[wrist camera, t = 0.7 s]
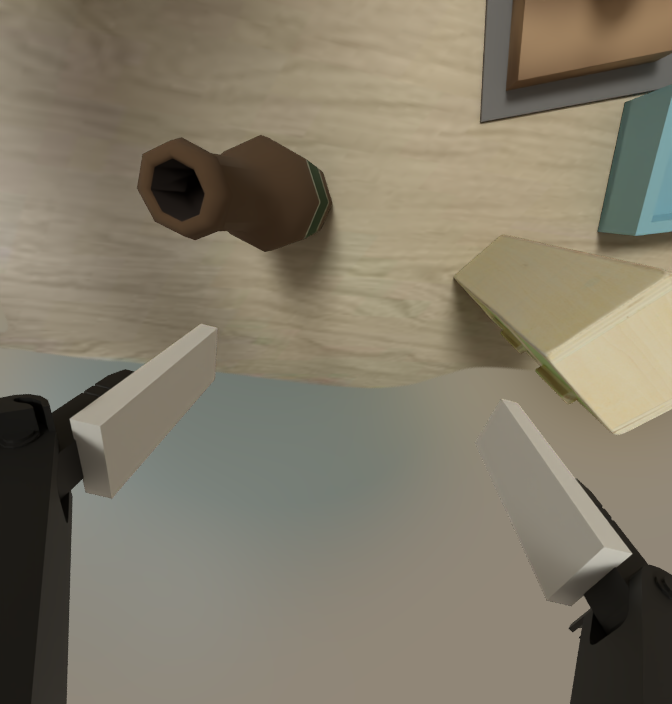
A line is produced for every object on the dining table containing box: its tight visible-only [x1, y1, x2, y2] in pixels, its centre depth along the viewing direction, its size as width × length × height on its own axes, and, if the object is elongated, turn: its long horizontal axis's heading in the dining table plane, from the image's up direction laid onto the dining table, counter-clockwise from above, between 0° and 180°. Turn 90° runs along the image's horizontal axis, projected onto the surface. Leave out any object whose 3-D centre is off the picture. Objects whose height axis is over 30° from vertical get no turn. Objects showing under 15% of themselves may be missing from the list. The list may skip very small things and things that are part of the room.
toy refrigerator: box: [454, 235, 672, 435], centre depth 26 cm, size 8×7×21 cm
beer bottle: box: [137, 135, 332, 252], centre depth 23 cm, size 8×8×24 cm
